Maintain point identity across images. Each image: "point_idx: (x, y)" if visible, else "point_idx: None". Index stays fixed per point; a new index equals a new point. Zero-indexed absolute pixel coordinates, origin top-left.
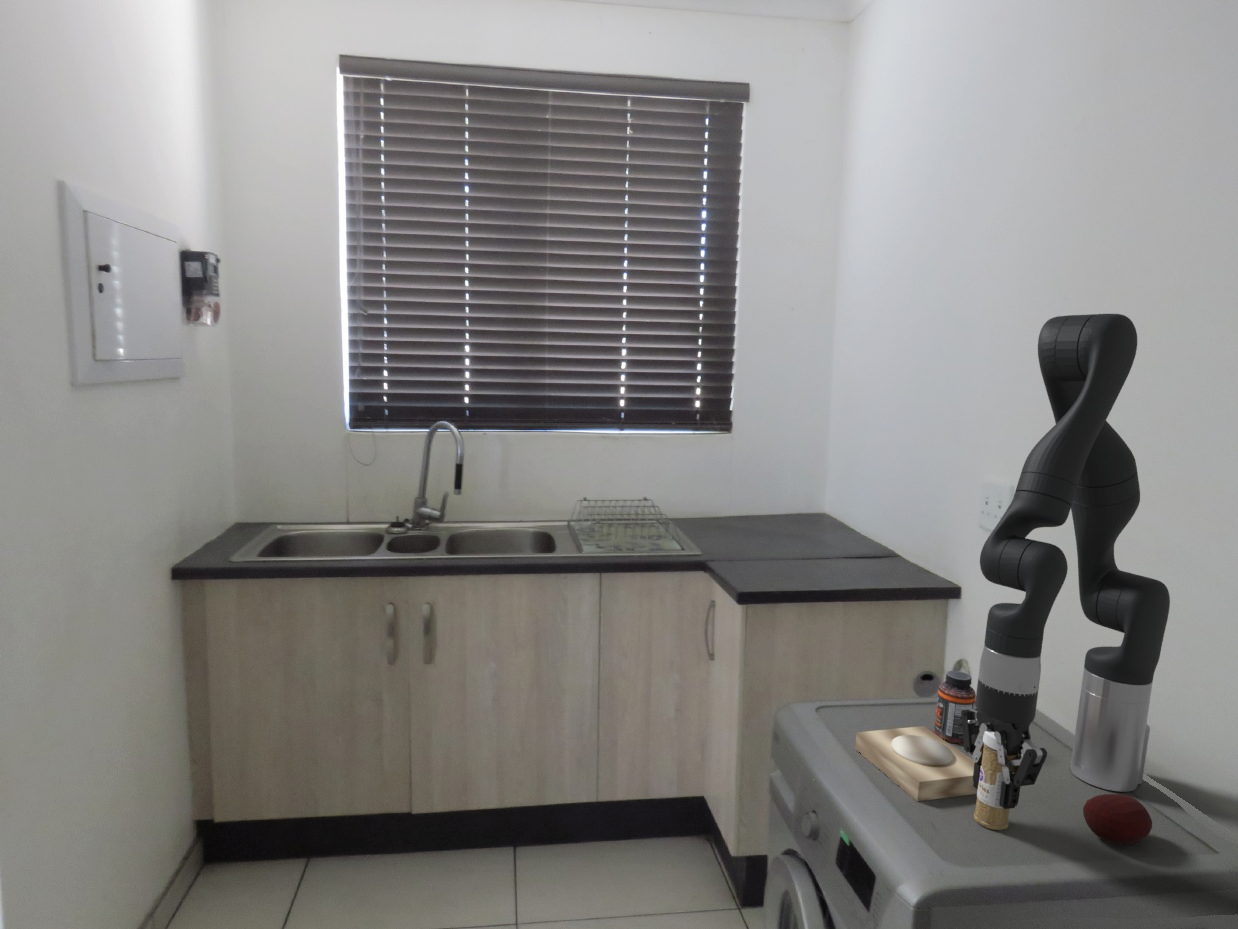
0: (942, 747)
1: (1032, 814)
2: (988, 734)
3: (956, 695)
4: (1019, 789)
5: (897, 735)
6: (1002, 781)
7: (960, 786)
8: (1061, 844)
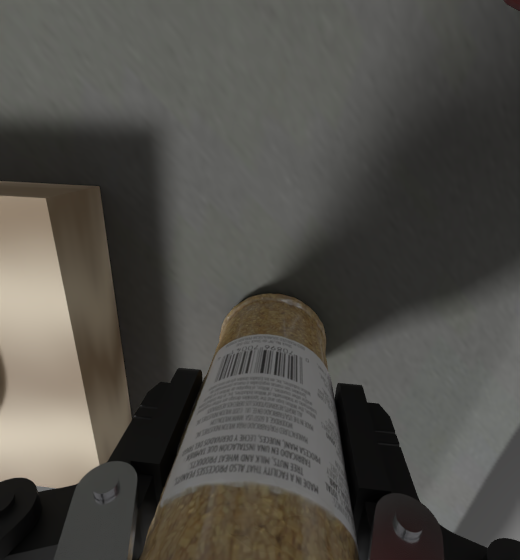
0: None
1: (270, 142)
2: None
3: None
4: (412, 485)
5: None
6: None
7: (99, 333)
8: (465, 208)
